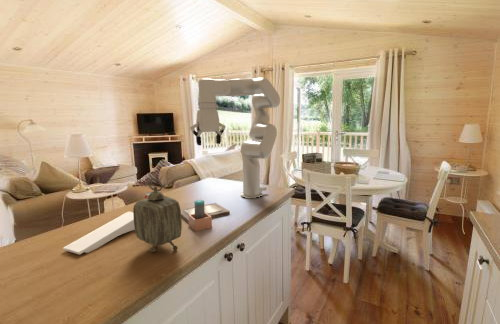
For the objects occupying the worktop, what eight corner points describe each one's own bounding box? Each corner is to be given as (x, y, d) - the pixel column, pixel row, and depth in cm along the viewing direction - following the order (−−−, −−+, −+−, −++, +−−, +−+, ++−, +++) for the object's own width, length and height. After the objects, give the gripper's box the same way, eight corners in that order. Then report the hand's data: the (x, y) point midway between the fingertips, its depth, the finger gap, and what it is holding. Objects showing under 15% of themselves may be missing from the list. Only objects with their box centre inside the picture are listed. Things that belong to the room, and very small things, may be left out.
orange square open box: (204, 221, 119) (204, 211, 119) (211, 227, 113) (211, 216, 113) (188, 225, 116) (188, 215, 115) (195, 231, 110) (194, 220, 109)
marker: (202, 222, 117) (202, 199, 116) (206, 225, 114) (205, 201, 112) (193, 224, 115) (192, 201, 113) (197, 227, 112) (196, 203, 110)
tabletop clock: (183, 249, 94) (179, 178, 90) (161, 261, 87) (156, 184, 83) (156, 239, 102) (151, 173, 98) (134, 249, 95) (128, 178, 91)
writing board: (215, 205, 141) (215, 202, 140) (229, 214, 128) (229, 210, 128) (177, 213, 130) (177, 209, 130) (188, 223, 117) (188, 219, 117)
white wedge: (83, 271, 92) (145, 229, 116) (82, 254, 89) (145, 215, 114) (63, 259, 95) (127, 221, 120) (61, 242, 93) (127, 207, 117)
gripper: (220, 107, 133) (221, 142, 136) (186, 107, 124) (188, 145, 126) (228, 106, 127) (229, 143, 130) (192, 106, 117) (194, 146, 120)
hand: (209, 144), depth 128 cm, fingers open, 9 cm apart
